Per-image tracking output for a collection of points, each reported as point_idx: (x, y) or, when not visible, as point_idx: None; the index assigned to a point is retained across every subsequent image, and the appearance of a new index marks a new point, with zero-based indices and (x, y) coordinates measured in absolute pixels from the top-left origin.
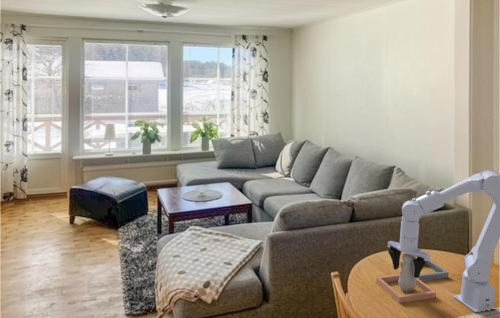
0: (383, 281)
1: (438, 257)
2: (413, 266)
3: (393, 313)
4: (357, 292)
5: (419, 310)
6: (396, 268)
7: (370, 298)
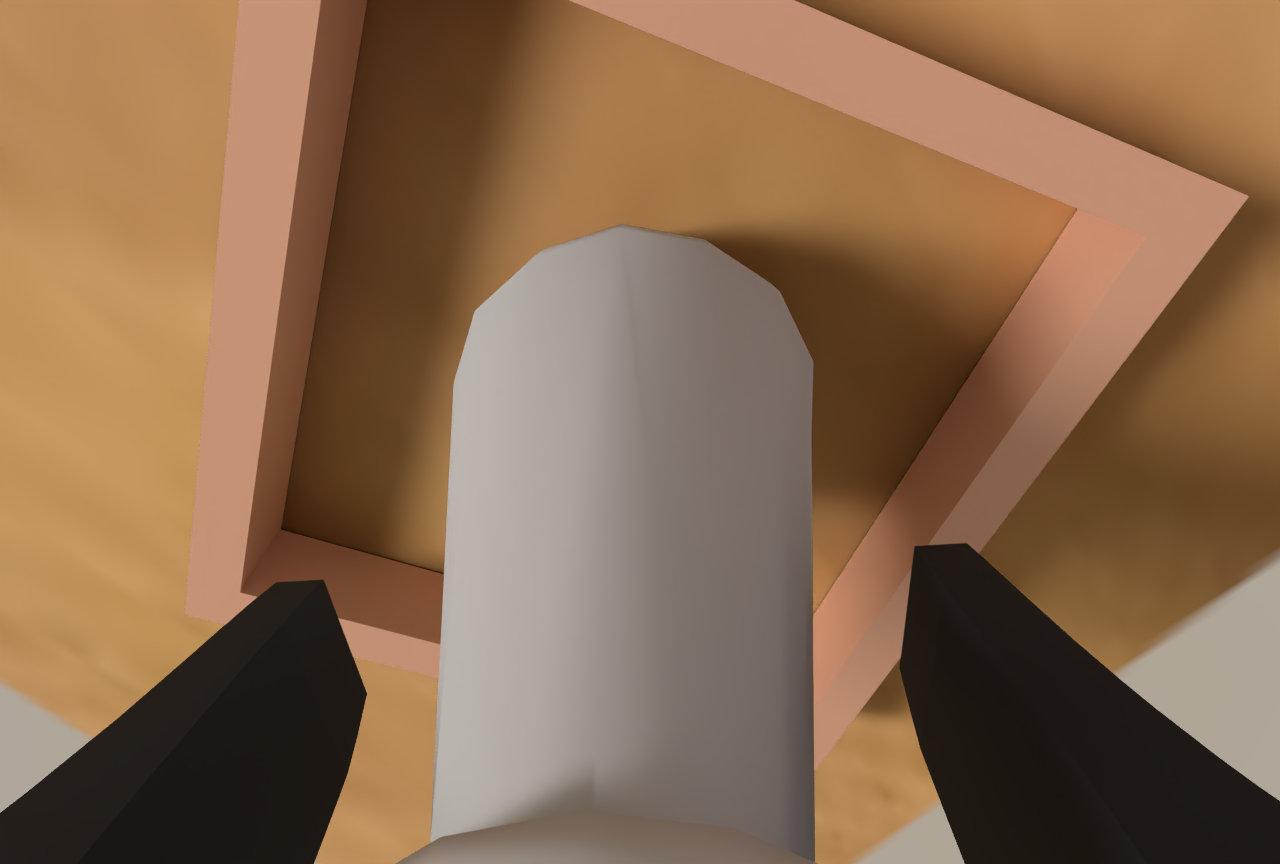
0: (363, 635)
1: None
2: (791, 709)
3: (869, 852)
4: (371, 845)
5: None
6: (347, 678)
7: None
